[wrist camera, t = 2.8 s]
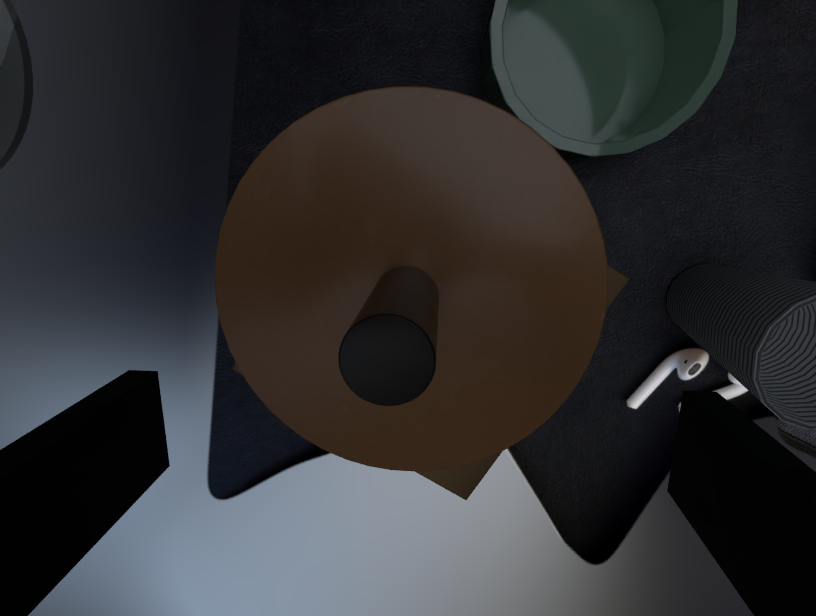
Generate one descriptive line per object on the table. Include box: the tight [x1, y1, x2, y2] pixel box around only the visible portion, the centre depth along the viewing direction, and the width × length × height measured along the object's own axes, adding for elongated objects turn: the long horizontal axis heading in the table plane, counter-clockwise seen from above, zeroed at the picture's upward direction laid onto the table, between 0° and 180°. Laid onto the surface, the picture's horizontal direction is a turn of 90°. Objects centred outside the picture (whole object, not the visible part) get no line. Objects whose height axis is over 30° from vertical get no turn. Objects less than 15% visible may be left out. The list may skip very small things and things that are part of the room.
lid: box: [215, 86, 608, 471], centre depth 17 cm, size 16×16×8 cm
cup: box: [666, 264, 816, 429], centre depth 36 cm, size 8×8×16 cm
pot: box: [481, 0, 738, 160], centre depth 35 cm, size 15×15×9 cm
